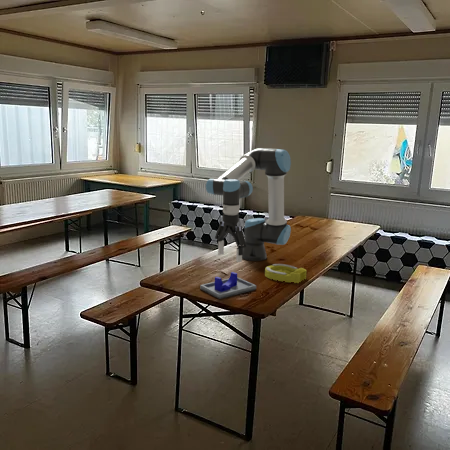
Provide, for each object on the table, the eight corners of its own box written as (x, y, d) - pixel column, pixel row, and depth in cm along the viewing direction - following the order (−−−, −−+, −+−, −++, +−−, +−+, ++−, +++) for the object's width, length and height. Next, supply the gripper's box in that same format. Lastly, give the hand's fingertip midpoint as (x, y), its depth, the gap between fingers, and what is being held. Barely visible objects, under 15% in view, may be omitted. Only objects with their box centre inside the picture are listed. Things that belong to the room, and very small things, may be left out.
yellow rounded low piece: (295, 285, 224) (295, 276, 223) (259, 276, 235) (259, 267, 234) (309, 277, 237) (310, 268, 236) (274, 269, 249) (274, 260, 248)
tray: (236, 280, 228) (236, 276, 227) (256, 289, 216) (256, 285, 216) (200, 289, 215) (200, 285, 214) (219, 299, 203) (219, 294, 203)
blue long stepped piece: (221, 292, 209) (221, 279, 208) (214, 289, 212) (214, 277, 211) (239, 286, 218) (239, 274, 216) (232, 283, 221) (232, 271, 219)
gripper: (208, 209, 215) (207, 252, 220) (242, 219, 196) (240, 266, 201) (220, 208, 219) (219, 250, 224) (255, 217, 200) (253, 263, 205)
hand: (229, 258), depth 212 cm, fingers open, 13 cm apart
